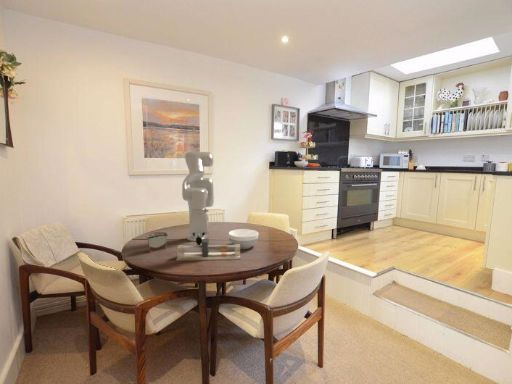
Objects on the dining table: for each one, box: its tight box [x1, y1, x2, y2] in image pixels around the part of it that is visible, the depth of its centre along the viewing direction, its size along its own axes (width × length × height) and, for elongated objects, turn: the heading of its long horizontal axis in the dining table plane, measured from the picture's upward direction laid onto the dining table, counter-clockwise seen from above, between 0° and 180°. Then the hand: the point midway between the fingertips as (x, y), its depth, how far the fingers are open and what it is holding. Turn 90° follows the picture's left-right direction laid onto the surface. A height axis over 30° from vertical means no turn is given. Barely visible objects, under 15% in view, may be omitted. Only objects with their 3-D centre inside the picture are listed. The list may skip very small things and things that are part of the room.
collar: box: [201, 237, 210, 257], centre depth 138 cm, size 7×3×8 cm, turn 6°
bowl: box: [228, 228, 259, 250], centre depth 158 cm, size 19×19×9 cm
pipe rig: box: [176, 244, 241, 262], centre depth 139 cm, size 9×34×6 cm, turn 96°
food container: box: [146, 231, 168, 254], centre depth 149 cm, size 12×6×10 cm, turn 135°
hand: (198, 244), depth 138 cm, fingers closed
